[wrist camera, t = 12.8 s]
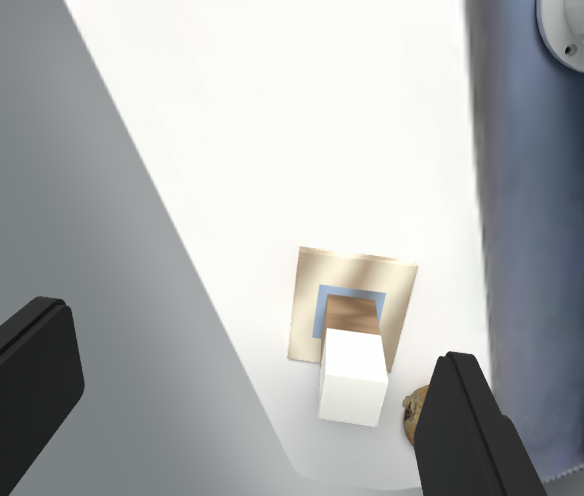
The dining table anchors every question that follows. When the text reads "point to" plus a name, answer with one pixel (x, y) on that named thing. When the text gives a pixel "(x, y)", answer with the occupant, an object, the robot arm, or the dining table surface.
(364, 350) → the cream block
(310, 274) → the birch board
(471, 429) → the robot arm
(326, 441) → the dining table surface
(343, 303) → the walnut block
